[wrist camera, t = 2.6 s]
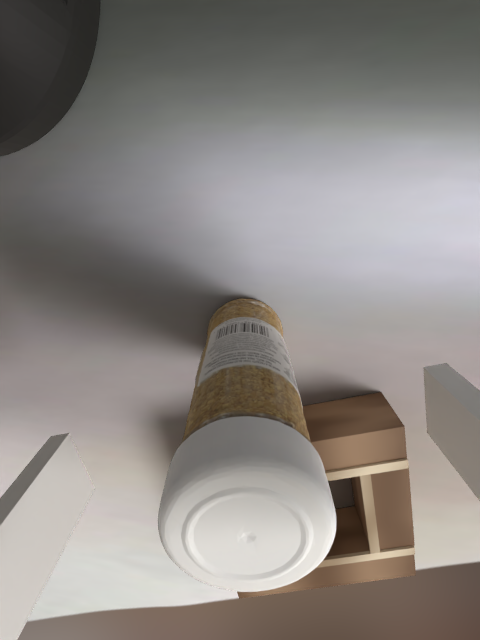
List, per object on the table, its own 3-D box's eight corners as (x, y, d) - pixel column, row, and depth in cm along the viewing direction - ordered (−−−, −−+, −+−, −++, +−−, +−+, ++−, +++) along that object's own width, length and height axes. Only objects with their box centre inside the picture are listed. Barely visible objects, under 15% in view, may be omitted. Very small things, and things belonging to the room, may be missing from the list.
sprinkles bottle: (201, 356, 22) (141, 585, 9) (216, 287, 20) (168, 447, 8) (272, 372, 22) (309, 614, 9) (292, 305, 20) (369, 487, 8)
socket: (239, 550, 28) (238, 600, 24) (199, 424, 23) (192, 464, 20) (395, 527, 26) (417, 577, 23) (382, 391, 22) (406, 427, 19)
